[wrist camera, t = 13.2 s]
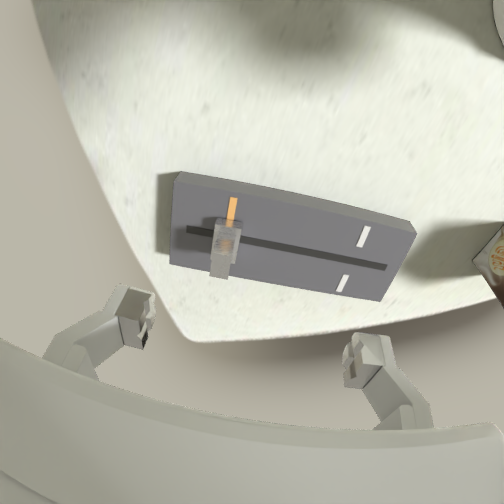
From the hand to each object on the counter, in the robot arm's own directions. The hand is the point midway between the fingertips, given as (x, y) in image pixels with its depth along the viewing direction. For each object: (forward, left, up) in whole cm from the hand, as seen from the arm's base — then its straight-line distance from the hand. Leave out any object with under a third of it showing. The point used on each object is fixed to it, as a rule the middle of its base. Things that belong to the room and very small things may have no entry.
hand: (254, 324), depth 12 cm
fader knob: (+2, +12, -23) cm, 26 cm away
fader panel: (-6, +12, -27) cm, 30 cm away
